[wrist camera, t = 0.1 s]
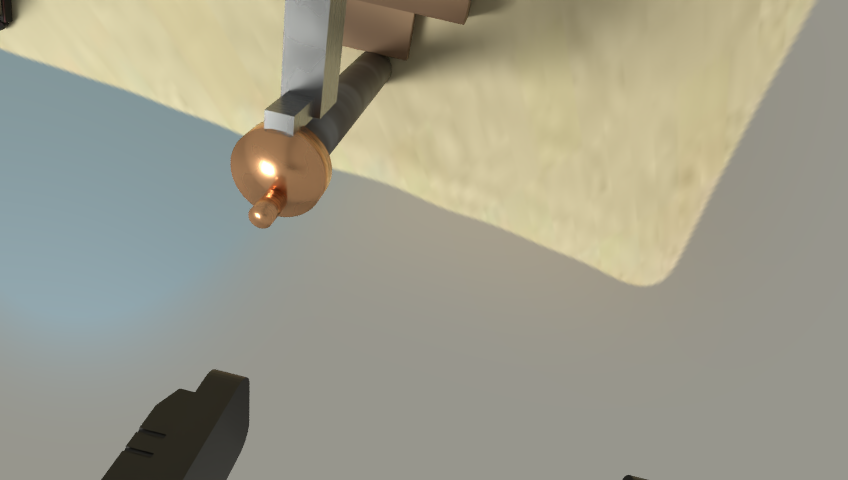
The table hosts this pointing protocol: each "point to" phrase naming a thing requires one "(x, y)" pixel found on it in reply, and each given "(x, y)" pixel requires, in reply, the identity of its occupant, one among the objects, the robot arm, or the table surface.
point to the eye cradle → (376, 55)
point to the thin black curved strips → (5, 14)
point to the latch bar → (294, 118)
